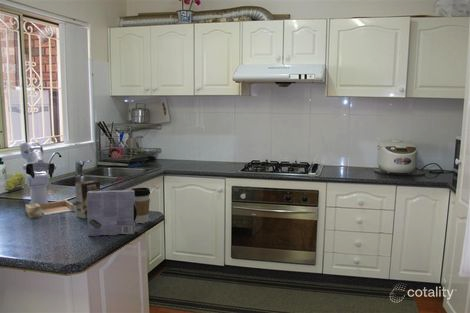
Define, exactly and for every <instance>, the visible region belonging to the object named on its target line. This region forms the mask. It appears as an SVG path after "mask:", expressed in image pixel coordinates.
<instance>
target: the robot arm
mask: <svg viewBox="0 0 470 313" xmlns="http://www.w3.org/2000/svg"><path fill="white" fill-rule="evenodd" d="M19 149H20V155H21V157H22V159H24V160H25V161H26V163H24V164H22V170H24V171H25V173H26V184H27V187H28V188H29V189H30V190H29V195H30V201H29V202H28V204H32V203H37V204H43V203H50V202H49V201H48V197H47V186H48V185H49V184H50V182H49V181H50V180H49V178H50V179H52V178H53V174H54V173H55V170H57V164H55V163H54V162H53V163H51V162H47V161H46V160H45V157H44V148H43V145H41V143H40V142H39V141H37V142H36V141H35V142H21V143H20V144H19ZM46 171H48V172H46Z"/></svg>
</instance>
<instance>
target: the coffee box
mask: <svg viewBox="0 0 470 313" xmlns="http://www.w3.org/2000/svg"><path fill="white" fill-rule="evenodd" d="M74 186H75V202H76V203H75V204H76V205H75V206H76V208H75V209H76V217H77V218H79V219H87V192H88V191H101V182H100V180H94V179H91V180H84V181H78V182H75V185H74Z"/></svg>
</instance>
